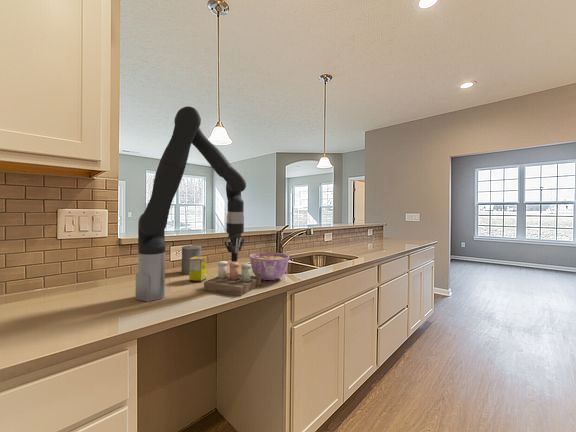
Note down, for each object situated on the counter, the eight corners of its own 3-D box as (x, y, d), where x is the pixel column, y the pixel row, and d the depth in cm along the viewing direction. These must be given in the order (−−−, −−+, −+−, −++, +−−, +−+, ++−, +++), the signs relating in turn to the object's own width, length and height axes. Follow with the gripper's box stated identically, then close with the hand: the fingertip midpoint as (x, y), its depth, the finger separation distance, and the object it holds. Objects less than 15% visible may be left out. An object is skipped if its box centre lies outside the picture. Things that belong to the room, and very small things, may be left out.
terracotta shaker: (235, 280, 118) (236, 264, 118) (226, 279, 119) (227, 263, 119) (240, 278, 122) (241, 262, 122) (232, 277, 124) (232, 262, 123)
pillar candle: (180, 270, 147) (181, 243, 147) (199, 269, 151) (200, 242, 151) (182, 275, 139) (182, 246, 138) (202, 273, 143) (202, 245, 142)
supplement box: (206, 279, 133) (206, 256, 132) (201, 282, 127) (201, 259, 126) (194, 278, 133) (195, 256, 133) (188, 281, 127) (189, 258, 127)
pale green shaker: (247, 282, 116) (248, 266, 116) (238, 281, 117) (239, 265, 117) (252, 280, 120) (253, 264, 120) (243, 278, 122) (244, 263, 121)
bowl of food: (270, 287, 123) (271, 261, 122) (240, 278, 135) (240, 255, 135) (296, 278, 139) (297, 255, 138) (267, 271, 151) (267, 251, 150)
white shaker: (223, 279, 120) (224, 263, 120) (215, 278, 122) (215, 262, 121) (229, 276, 124) (229, 261, 124) (221, 275, 126) (221, 260, 125)
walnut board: (241, 296, 109) (241, 287, 109) (203, 290, 116) (204, 281, 115) (261, 284, 126) (261, 277, 126) (227, 279, 132) (227, 272, 132)
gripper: (234, 223, 112) (233, 265, 113) (250, 222, 125) (249, 259, 125) (219, 222, 115) (218, 263, 116) (235, 221, 127) (235, 258, 128)
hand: (234, 261), depth 121 cm, fingers closed
